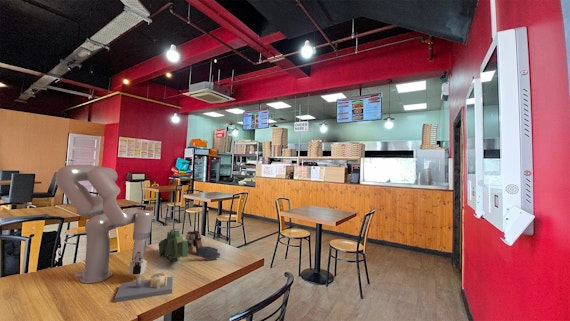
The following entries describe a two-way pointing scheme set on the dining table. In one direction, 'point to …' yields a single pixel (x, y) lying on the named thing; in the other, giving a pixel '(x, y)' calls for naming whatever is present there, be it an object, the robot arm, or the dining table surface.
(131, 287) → the gear board
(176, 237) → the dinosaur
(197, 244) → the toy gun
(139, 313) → the dining table surface
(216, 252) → the stone
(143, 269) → the loose gear
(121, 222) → the robot arm
